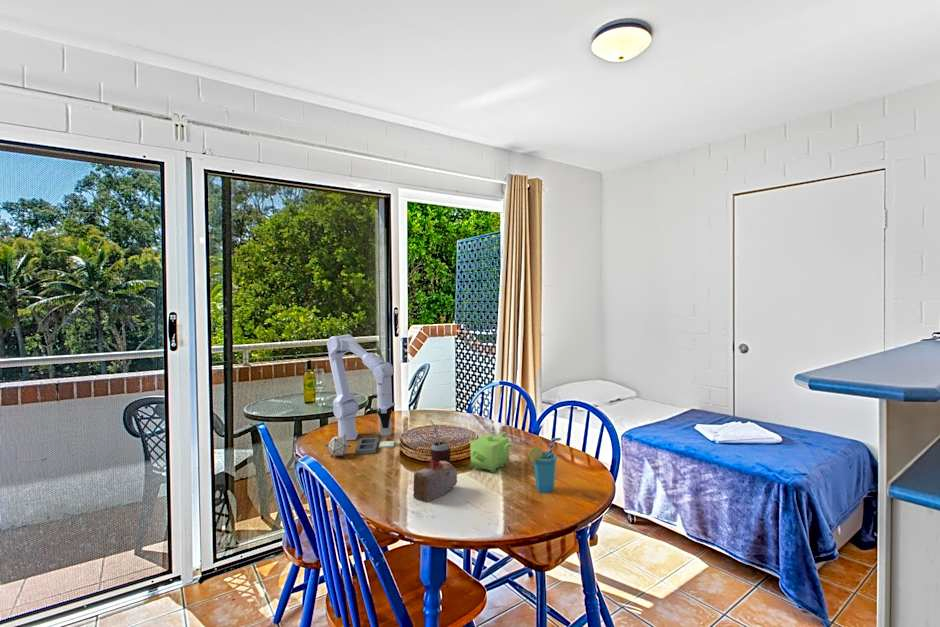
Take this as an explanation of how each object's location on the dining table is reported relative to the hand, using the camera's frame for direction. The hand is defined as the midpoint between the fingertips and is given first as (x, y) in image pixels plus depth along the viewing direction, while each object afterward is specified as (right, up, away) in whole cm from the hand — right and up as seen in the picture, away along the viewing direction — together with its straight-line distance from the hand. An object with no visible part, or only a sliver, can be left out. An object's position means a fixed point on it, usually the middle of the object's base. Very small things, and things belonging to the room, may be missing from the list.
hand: (386, 426), depth 199 cm
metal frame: (-7, -8, -2) cm, 11 cm away
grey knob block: (0, -3, 0) cm, 3 cm away
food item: (+23, -10, -47) cm, 54 cm away
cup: (+58, -9, -47) cm, 75 cm away
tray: (0, -8, +1) cm, 8 cm away
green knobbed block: (+42, -8, -27) cm, 51 cm away
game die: (-16, -9, -11) cm, 21 cm away
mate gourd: (+23, -9, -24) cm, 35 cm away
